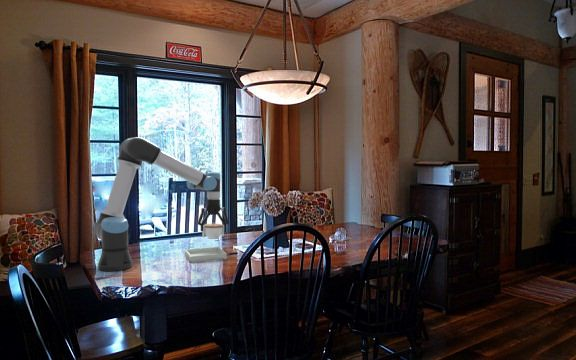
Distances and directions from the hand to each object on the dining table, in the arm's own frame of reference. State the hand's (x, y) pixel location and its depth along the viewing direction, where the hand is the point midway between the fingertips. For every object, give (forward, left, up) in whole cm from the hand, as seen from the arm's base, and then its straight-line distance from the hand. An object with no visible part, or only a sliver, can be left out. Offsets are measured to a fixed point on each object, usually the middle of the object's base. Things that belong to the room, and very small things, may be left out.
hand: (213, 236), depth 239 cm
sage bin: (-9, -20, -7) cm, 23 cm away
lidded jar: (0, 0, -1) cm, 1 cm away
